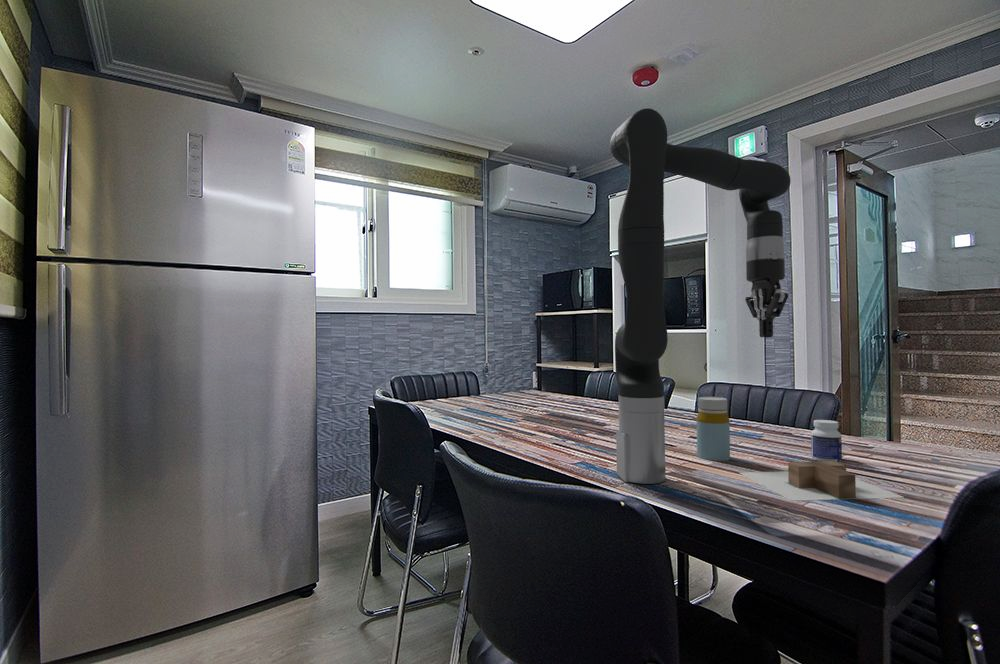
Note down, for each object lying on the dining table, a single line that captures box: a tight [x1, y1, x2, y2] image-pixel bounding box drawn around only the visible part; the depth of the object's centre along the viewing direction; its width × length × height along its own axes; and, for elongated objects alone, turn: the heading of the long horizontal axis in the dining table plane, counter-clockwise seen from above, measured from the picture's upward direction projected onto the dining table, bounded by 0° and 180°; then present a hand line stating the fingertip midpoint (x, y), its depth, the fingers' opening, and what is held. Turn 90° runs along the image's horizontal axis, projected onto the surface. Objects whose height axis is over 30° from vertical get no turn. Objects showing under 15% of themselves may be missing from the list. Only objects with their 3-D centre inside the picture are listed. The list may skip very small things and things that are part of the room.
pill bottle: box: [810, 419, 843, 463], centre depth 111 cm, size 6×6×10 cm
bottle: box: [696, 396, 731, 462], centre depth 114 cm, size 7×7×15 cm
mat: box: [739, 470, 905, 502], centre depth 93 cm, size 20×17×2 cm
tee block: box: [787, 460, 856, 500], centre depth 89 cm, size 9×9×4 cm
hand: (766, 337), depth 109 cm, fingers closed
